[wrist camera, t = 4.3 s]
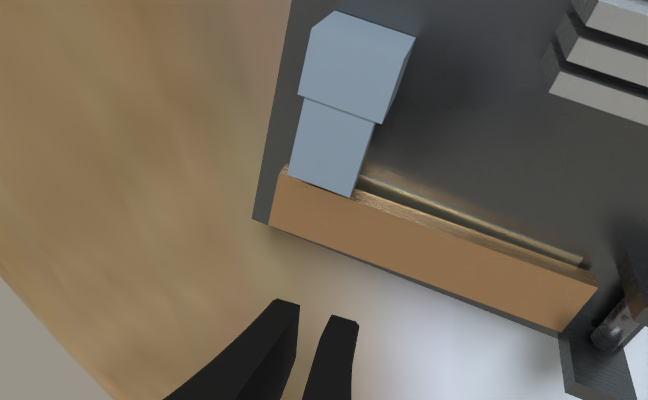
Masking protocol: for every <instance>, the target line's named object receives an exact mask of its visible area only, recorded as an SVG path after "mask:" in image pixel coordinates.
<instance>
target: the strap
mask: <svg viewBox="0 0 648 400" xmlns="http://www.w3.org/2000/svg"><path fill="white" fill-rule="evenodd" d="M288 169H289V165H288V164H285V166H284V167H283V169H282V170H281V172H280V173H279V176H278V181H277V185H276V190H275V195H274V199H273V204H272V209H271V213H270V218H269V223H268V225H270V226H272V227H275V228H278V229H281V230H283V231H286V232H289V233H292V234H294V235H297V236H300V237H302V238H305V239H308V240H311V241H313V242H316V243H319V244H322V245H324V246H327V247H330V248H332V249H335V250H338V251H341V252H343V253H346V254H349V255H352V256H354V257H357V258H360V259H362V260H365V261H368V262H371V263H373V264H376V265H379V266H382V267H384V268H387V269H390V270H393V271H395V272H398V273H401V274H403V275H406V276H409V277H412V278H414V279H417V280H420V281H423V282H425V283H428V284H431V285H433V286H436V287H439V288H442V289H444V290H447V291H450V292H453V293H455V294H458V295H461V296H463V297H466V298H469V299H472V300H474V301H477V302H480V303H483V304H485V305H488V306H491V307H493V308H496V309H499V310H502V311H504V312H507V313H510V314H513V315H515V316H518V317H521V318H523V319H526V320H529V321H532V322H534V323H537V324H540V325H543V326H545V327H548V328H551V329H553V330H556V331H559V332H562V331H563V330H564V329H565V327H566V326H567V325H568V324H569V323H570V321H571V320H572V319H573V318H574V317H575V315H576V314H577V313H578V312H579V311H580V309H581V308H582V307H583V306H584V305H585V303H586V302H587V301H588V300H589V299H590V297H591V296H592V295H593V294H594V293H595V291H596V290H597V289H598V285H597V282H596V278H595V275H594V273H593V272H590V271H587V270H584V269H581V268H578V267H576V266H573V265H570V264H567V263H564V262H562V261H559V260H556V259H553V258H550V257H547V256H545V255H542V254H539V253H536V252H533V251H530V250H528V249H525V248H522V247H519V246H516V245H514V244H511V243H508V242H505V241H502V240H499V239H497V238H494V237H491V236H488V235H485V234H482V233H480V232H477V231H474V230H471V229H468V228H466V227H463V226H460V225H457V224H454V223H451V222H449V221H446V220H443V219H440V218H437V217H434V216H432V215H429V214H426V213H423V212H420V211H418V210H415V209H412V208H409V207H406V206H403V205H401V204H398V203H395V202H392V201H389V200H386V199H384V198H381V197H378V196H375V195H372V194H370V193H367V192H364V191H361V190H358V189H355V188H354V190H353V192H352V194H351V196H350V198H348V197H346V196H343V195H340V194H338V193H335V192H332V191H330V190H327V189H325V188H322V187H319V186H317V185H314V184H311V183H309V182H306V181H303V180H301V179H298V178H295V177H293V176H290V175H287V173H288ZM638 325H639V323H637V322H634V321H633V319H632V316H631V313H630V310H629V306H628V303H627V300H626V297H625V296H624V298H623V299H622V300H621V301H620V302H619V303H618V304H617V305H616V307H615V308H614V309H613V310H612V311H611V312H610V313H609V314H608V316H607V317H606V318H605V319H604V320H603V321H602V322H601V323H600V324H599V326H598V327H597V328H596V329H595V330H594V331H593V332H592V333H591V335H590V339H591V341H592V343H593V344H594V345H595V346H596V347H597V348H599V349H600V350H602V351H604V352H607V353H611V352H613V351H614V350H615V349H616V348H617V347H618V346H619V345H620V344H621V343H622V342H623V341H624V339H625V338H626V337H627V336H628V335H629V334H630V333H631V332H632V331H633V330H634V329H635V328H636V327H637V326H638Z"/></svg>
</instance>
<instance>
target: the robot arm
mask: <svg viewBox="0 0 648 400" xmlns="http://www.w3.org/2000/svg"><path fill="white" fill-rule="evenodd" d="M299 312H300V305H298V304H294V303H291V302H287V301H284V300H280V299H275V300H273V301H272V302H271V303H270V305H269V306H268V307H267V308H266V309H265V310H264V311H263V312H262V313H261V314H260V315H259V316H258V317H257V319H256V320H255V321H254V322H253V323H252V324H251V325H250V326H249V327H248V328H247V329H246V330H245V331H243V332H242V333H241V334H240V335H239V336H238V337H237V338H236V339H235V340H234V341H233V342H232V343H231V344H230V345H229V346H228V347H226V348H225V349H224V350H223V351H222V352H221V353H220V354H219V355H218V356H217V357H215V358H214V359H213V360H212V361H211V362H210V363H208V364H207V365H206V366H205V367H204V368H202V369H201V370H200V371H199V372H198V373H196V374H195V375H194V376H193V377H192V378H190V379H189V380H188V381H187V382H185V383H184V384H183V385H182V386H180V387H179V388H178V389H176V390H175V391H174V392H173V393H171V394H170V395H169V396H167V397H166V398H164V399H163V400H280V398H281V396H282V394H283V391H284V388H285V386H286V383H287V380H288V378H289V375H290V372H291V369H292V367H293V364H294V361H295V358H296V348H297V336H298V324H299ZM358 331H359V325H358V324H357V323H356V321H352V320H349V319H345V318H342V317H339V316H335V315H331V317H330V319H329V321H328V323H327V325H326V327H325V329H324V331H323V333H322V336H321V338H320V341H319V344H318V347H317V350H316V354H315V357H314V360H313V364H312V367H311V370H310V374H309V377H308V381H307V384H306V387H305V391H304V394H303V397H302V400H351V378H352V363H353V358H354V352H355V347H356V342H357V336H358Z"/></svg>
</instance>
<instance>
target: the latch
mask: <svg viewBox="0 0 648 400" xmlns="http://www.w3.org/2000/svg"><path fill="white" fill-rule="evenodd" d="M415 39H416V37H413V36H410V35H407V34H404V33H401V32H398V31H395V30H392V29H389V28H386V27H383V26H380V25H377V24H374V23H371V22H368V21H365V20H362V19H359V18H356V17H353V16H350V15H347V14H344V13H341V12H338V11H334V12H332V13H331V14H330V15H328V16H327V17H326V18H324V19H323V20H322V21H320V22H319V23H318V24H316V25H315V26H314V27H312V29H311V33H310V38H309V43H308V47H307V52H306V57H305V61H304V66H303V70H302V75H301V80H300V84H299V89H298V95H301V96H304V97H305V98H304V102H303V107H302V111H301V115H300V120H299V124H298V129H297V133H296V138H295V142H294V146H293V151H292V155H291V160H290V164H289V169H288V173H287V175H290V176H293V177H295V178H298V179H301V180H303V181H306V182H309V183H311V184H314V185H317V186H319V187H322V188H325V189H327V190H330V191H332V192H335V193H338V194H340V195H343V196H346V197H348V198H350V196H351V194H352V192H353V190H354V188H355V185H356V182H357V179H358V176H359V173H360V170H361V167H362V164H363V161H364V158H365V155H366V152H367V149H368V146H369V143H370V140H371V137H372V134H373V131H374V128H375V125H376V122H377V123H379V124H382V123H383V121H384V119H385V117H386V115H387V113H388V111H389V109H390V107H391V105H392V103H393V101H394V99H395V97H396V94H397V91H398V88H399V85H400V82H401V79H402V77H403V74H404V71H405V68H406V65H407V62H408V59H409V56H410V53H411V51H412V48H413V45H414V42H415Z"/></svg>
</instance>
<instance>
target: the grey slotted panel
mask: <svg viewBox="0 0 648 400" xmlns="http://www.w3.org/2000/svg"><path fill="white" fill-rule="evenodd" d="M334 11H338V12H341V13H344V14H347V15H350V16H353V17H356V18H359V19H362V20H365V21H368V22H371V23H374V24H377V25H380V26H383V27H386V28H389V29H392V30H395V31H398V32H401V33H404V34H407V35H410V36H413V37H416V39H415V42H414V45H413V48H412V51H411V53H410V56H409V59H408V62H407V65H406V68H405V71H404V74H403V77H402V79H401V82H400V85H399V88H398V91H397V94H396V97H395V99H394V101H393V103H392V105H391V107H390V109H389V111H388V113H387V115H386V117H385V119H384V121H383V123H382V124H379V123H377V122H376V125H375V128H374V131H373V134H372V137H371V140H370V143H369V146H368V149H367V152H366V155H365V158H364V161H363V164H362V167H361V170H360V173H359V176H358V179H357V182H356V185H355V189H358V190H361V191H364V192H367V193H370V194H372V195H375V196H378V197H381V198H384V199H386V200H389V201H392V202H395V203H398V204H401V205H403V206H406V207H409V208H412V209H415V210H418V211H420V212H423V213H426V214H429V215H432V216H434V217H437V218H440V219H443V220H446V221H449V222H451V223H454V224H457V225H460V226H463V227H466V228H468V229H471V230H474V231H477V232H480V233H482V234H485V235H488V236H491V237H494V238H497V239H499V240H502V241H505V242H508V243H511V244H514V245H516V246H519V247H522V248H525V249H528V250H530V251H533V252H536V253H539V254H542V255H545V256H547V257H550V258H553V259H556V260H559V261H562V262H564V263H567V264H570V265H573V266H576V267H578V268H581V269H584V270H587V271H590V272H593V273H594V275H595V278H596V282H597V285H598V289H597V290H596V291H595V293H594V294H593V295H592V296H591V297H590V299H589V300H588V301H587V302H586V303H585V305H584V306H583V307H582V308H581V309H580V311H579V312H578V313H577V314H576V315H575V317H574V318H573V319H572V320H571V321H570V323H569V324H568V325H567V326H566V327H565V329H564V330H563V331H562V332H559V331H556V330H553V329H551V328H548V327H545V326H543V325H540V324H537V323H534V322H532V321H529V320H526V319H523V318H521V317H518V316H515V315H513V314H510V313H507V312H504V311H502V310H499V309H496V308H493V307H491V306H488V305H485V304H483V303H480V302H477V301H474V300H472V299H469V298H466V297H463V296H461V295H458V294H455V293H453V292H450V291H447V290H444V289H442V288H439V287H436V286H433V285H431V284H428V283H425V282H423V281H420V280H417V279H414V278H412V277H409V276H406V275H403V274H401V273H398V272H395V271H393V270H390V269H387V268H384V267H382V266H379V265H376V264H373V263H371V262H368V261H365V260H362V259H360V258H357V257H354V256H352V255H349V254H346V253H343V252H341V251H338V250H335V249H332V248H330V247H327V246H324V245H322V244H319V243H316V242H313V241H311V240H308V239H305V238H302V237H300V236H297V235H295V236H297V237H300V238H302V239H305V240H307V241H310V242H312V243H315V244H318V245H320V246H323V247H325V248H328V249H330V250H333V251H335V252H338V253H340V254H343V255H346V256H348V257H351V258H353V259H356V260H358V261H361V262H363V263H366V264H369V265H371V266H374V267H376V268H379V269H381V270H384V271H386V272H389V273H392V274H394V275H397V276H399V277H402V278H404V279H407V280H409V281H412V282H415V283H417V284H420V285H422V286H425V287H427V288H430V289H432V290H435V291H438V292H440V293H443V294H445V295H448V296H450V297H453V298H455V299H458V300H461V301H463V302H466V303H468V304H471V305H473V306H476V307H478V308H481V309H484V310H486V311H489V312H491V313H494V314H496V315H499V316H501V317H504V318H507V319H509V320H512V321H514V322H517V323H519V324H522V325H524V326H527V327H530V328H532V329H535V330H537V331H540V332H542V333H545V334H547V335H550V336H553V337H555V338H558V342H559V349H560V357H561V365H562V373H563V380H564V388H565V393H568V394H570V395H573V396H575V397H577V398H580V399H582V400H637V397H636V393H635V390H634V386H633V382H632V379H631V375H630V371H629V367H628V364H627V360H626V356H625V352H624V349H623V348H624V347H625V346H626V345H627V344H628V343H629V342H630V340H631V339H632V338H633V337H634V336H635V335H636V334H637V333H638V332H639V331H640V330H641V329H642V328H643V327H644V326H647V327H648V0H292V4H291V9H290V14H289V20H288V25H287V31H286V36H285V41H284V47H283V52H282V58H281V63H280V68H279V74H278V79H277V85H276V90H275V95H274V101H273V106H272V112H271V117H270V122H269V128H268V133H267V139H266V144H265V149H264V155H263V160H262V166H261V171H260V177H259V182H258V187H257V193H256V198H255V204H254V209H253V214H252V219H254V220H256V221H259V222H261V223H264V224H266V225H268V223H269V218H270V213H271V209H272V204H273V199H274V195H275V190H276V185H277V181H278V176H279V173H280V172H281V170H282V169H283V167H284V166H285V164H288V165H289V164H290V160H291V155H292V151H293V146H294V142H295V138H296V133H297V129H298V124H299V120H300V115H301V111H302V107H303V102H304V98H305V97H304V96H301V95H298V89H299V84H300V80H301V75H302V70H303V66H304V61H305V57H306V52H307V47H308V43H309V38H310V33H311V29H312V27H314V26H315V25H316V24H318V23H319V22H320V21H322V20H323V19H324V18H326V17H327V16H328V15H330V14H331V13H332V12H334ZM269 226H270V225H269ZM274 228H275V227H274ZM277 229H278V228H277ZM279 230H281V229H279ZM282 231H283V230H282ZM284 232H286V231H284ZM287 233H289V232H287ZM289 234H292V233H289ZM292 235H294V234H292ZM624 296H625V297H626V300H627V303H628V306H629V310H630V313H631V316H632V319H633V321H634V322H637V323H639V325H638V326H637V327H636V328H635V329H634V330H633V331H632V332H631V333H630V334H629V335H628V336H627V337H626V338H625V339H624V341H623V342H622V343H621V344H620V345H619V346H618V347H617V348H616V349H615V350H614V351H613V352H611V353H607V352H604V351H602V350H600V349H599V348H597V347H596V346H595V345H594V344H593V343H592V341H591V339H590V335H591V333H592V332H593V331H594V330H595V329H596V328H597V327H598V326H599V324H600V323H601V322H602V321H603V320H604V319H605V318H606V317H607V316H608V314H609V313H610V312H611V311H612V310H613V309H614V308H615V307H616V305H617V304H618V303H619V302H620V301H621V300H622V299H623V298H624Z"/></svg>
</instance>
